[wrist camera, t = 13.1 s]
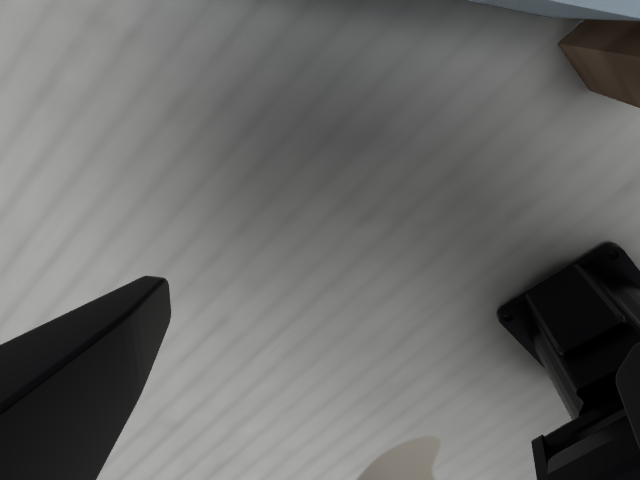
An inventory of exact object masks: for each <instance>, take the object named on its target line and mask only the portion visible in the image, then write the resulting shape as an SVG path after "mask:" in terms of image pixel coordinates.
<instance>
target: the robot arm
mask: <svg viewBox="0 0 640 480" xmlns="http://www.w3.org/2000/svg"><path fill="white" fill-rule="evenodd" d="M611 252H614V253H613V254H612V255H611V256H608V254H609V253H611ZM607 256H608V257H607ZM507 314H511V315H510V316H508V317H504V316H505V315H507ZM497 317H498V319H499V321H500V323H501V324H502V325H503V326H504V327H505V328H506V329H507V330H508V331H509V332H510V333H511V334H512V335H513V336H514V337H515V338H516V339H517V340H518V341H519V342H520V343H521V344H522V345H523V347H524V348H525V349H526V350H527V351H528V352H529V353H530V354H531V355H532V356H533V357H534V358H535V359H536V360H537V361H538V362H539V363H540V364H541V365H542V366H543V367H544V368H545V369H546V371H547V373H548V375H549V377H550V379H551V380H552V382H553V384H554V386H555V388H556V390H557V392H558V394H559V396H560V398H561V400H562V401H563V403H564V405H565V407H566V409H567V411H568V413H569V415H570V417H571V419H572V421H570V422H568V423H566V424H565V425H563V426H561V427H560V428H558V429H556V430H554V431H553V432H551V433H549V434H548V435H546V436H544V435H541V436H539V437H537V438H536V439H534V440H532V449H533V456H534V462H535V469H536V475H537V480H640V271H639V269H638V268H637V267H636V266H635V264H634V263H633V262H632V260H631V259H630V258H629V256H628V255H627V254H626V253H625V251H624V250H623V249H622V248H621V247H620V246H619V245H617V244H616V243H607V244H605V245H603V246H601V247H599V248H598V249H596V250H594V251H593V252H591V253H589V254H588V255H586V256H584V257H583V258H581V259H580V260H578V261H576V262H575V263H573V264H571V265H570V266H568V267H566V268H565V269H563V270H561V271H560V272H558V273H557V274H555V275H553V276H552V277H550V278H548V279H547V280H545V281H543V282H542V283H540V284H538V285H537V286H535V287H534V288H532V289H530V290H529V291H527V292H525V293H524V294H522V295H520V296H519V297H517V298H515V299H514V300H512V301H510V302H509V303H507V304H506V305H504V306H502V307H501V308H500V309H498V311H497ZM170 318H171V305H170V292H169V284H168V281H167V280H166V279H165V278H161V277H154V276H144V277H141V278H139V279H137V280H135V281H133V282H131V283H129V284H127V285H125V286H122V287H120V288H118V289H116V290H114V291H112V292H110V293H108V294H106V295H104V296H102V297H99V298H97V299H95V300H93V301H91V302H89V303H87V304H85V305H83V306H81V307H79V308H77V309H74V310H72V311H70V312H68V313H66V314H64V315H62V316H60V317H58V318H56V319H54V320H51V321H49V322H47V323H45V324H43V325H41V326H39V327H37V328H35V329H33V330H31V331H28V332H26V333H24V334H22V335H20V336H18V337H16V338H14V339H12V340H10V341H8V342H5V343H3V344H1V345H0V480H96V479H97V477H98V475H99V473H100V471H101V469H102V467H103V465H104V464H105V462H106V460H107V458H108V456H109V454H110V452H111V450H112V449H113V447H114V445H115V443H116V441H117V439H118V437H119V435H120V433H121V432H122V430H123V428H124V426H125V424H126V422H127V420H128V418H129V417H130V415H131V413H132V411H133V409H134V407H135V405H136V403H137V401H138V399H139V397H140V395H141V393H142V391H143V388H144V386H145V384H146V381H147V379H148V376H149V374H150V371H151V369H152V366H153V364H154V361H155V359H156V356H157V353H158V351H159V348H160V346H161V343H162V341H163V338H164V336H165V333H166V331H167V328H168V326H169V323H170Z"/></svg>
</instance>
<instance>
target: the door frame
mask: <svg viewBox="0 0 640 480" xmlns="http://www.w3.org/2000/svg"><path fill="white" fill-rule="evenodd" d="M558 45H559V46H560V48H561V49H562V51H563V52H564V53H565V55H566V56H567V58H568V59H569V61H570V62H571V64H572V65H573V67H574V68H575V69H576V71H577V72H578V74H579V75H580V77H581V78H582V80H583V81H584V83H585V84H586V85H587V87H588V88H589V90H590V91H592V92H595V93H598V94H601V95H604V96H607V97H610V98H613V99H616V100H619V101H621V102H624V103H627V104H630V105H633V106H636V107H639V108H640V21H618V20H592V19H587V20H585V21H584V22H583V23H582V24H581V25H579V26H578V27H577V28H576V29H575V30H573V31H572V32H571V33H570V34H569V35H567V36H566V37H565V38H564V39H563V40H561V41H560V42H559V43H558Z"/></svg>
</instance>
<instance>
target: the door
mask: <svg viewBox="0 0 640 480" xmlns="http://www.w3.org/2000/svg"><path fill="white" fill-rule="evenodd" d="M468 1H473V2H478V3H483V4H488V5H493V6H498V7H503V8H508V9H513V10H518V11H523V12H528V13H533V14H538V15H543V16H548V17H553V18H574V19H592V20H618V21H640V0H468Z"/></svg>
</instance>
